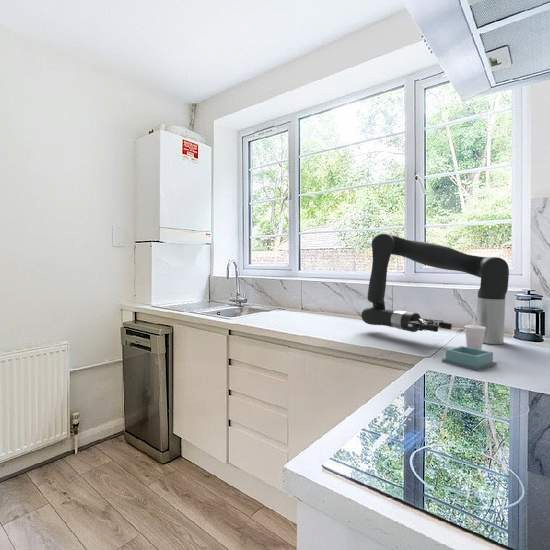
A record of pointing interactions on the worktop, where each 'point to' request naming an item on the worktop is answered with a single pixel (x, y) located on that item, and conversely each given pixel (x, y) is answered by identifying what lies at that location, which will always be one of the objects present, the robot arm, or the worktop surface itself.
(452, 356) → the tray
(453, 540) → the worktop surface
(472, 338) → the smoothie
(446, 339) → the worktop surface
